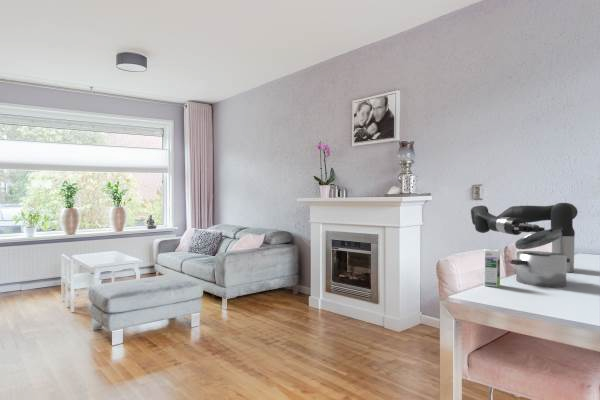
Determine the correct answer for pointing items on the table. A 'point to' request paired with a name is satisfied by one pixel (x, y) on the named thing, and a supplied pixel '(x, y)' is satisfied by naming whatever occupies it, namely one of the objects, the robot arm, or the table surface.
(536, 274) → the pot
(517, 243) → the lid
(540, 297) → the table surface
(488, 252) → the syrup box
